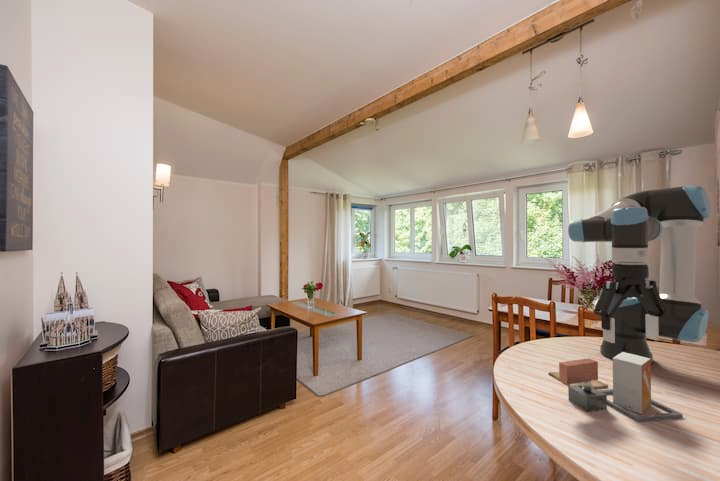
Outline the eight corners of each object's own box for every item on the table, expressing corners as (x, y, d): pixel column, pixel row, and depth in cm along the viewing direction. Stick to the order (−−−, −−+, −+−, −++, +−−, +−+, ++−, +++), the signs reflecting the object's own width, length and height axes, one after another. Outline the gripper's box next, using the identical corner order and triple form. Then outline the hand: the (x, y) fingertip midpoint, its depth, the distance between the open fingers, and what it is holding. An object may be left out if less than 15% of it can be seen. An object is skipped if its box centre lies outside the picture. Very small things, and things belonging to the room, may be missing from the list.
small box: (643, 415, 78) (642, 365, 78) (612, 404, 83) (611, 357, 83) (652, 405, 82) (651, 358, 82) (622, 395, 88) (621, 351, 88)
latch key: (559, 391, 83) (559, 362, 83) (589, 386, 85) (589, 358, 85) (567, 395, 80) (567, 366, 80) (598, 390, 83) (597, 361, 83)
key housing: (587, 398, 87) (587, 383, 87) (606, 409, 81) (606, 394, 81) (568, 399, 86) (568, 385, 86) (586, 411, 80) (586, 396, 80)
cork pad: (577, 371, 104) (577, 370, 104) (607, 387, 93) (607, 385, 93) (548, 374, 102) (548, 372, 102) (575, 390, 91) (575, 388, 91)
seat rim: (627, 390, 91) (627, 387, 91) (682, 417, 77) (682, 414, 77) (588, 393, 89) (588, 391, 89) (638, 422, 75) (638, 418, 75)
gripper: (602, 265, 78) (603, 347, 77) (684, 263, 81) (685, 342, 81) (577, 263, 85) (578, 338, 85) (653, 261, 88) (654, 333, 88)
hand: (630, 340), depth 83 cm, fingers open, 13 cm apart
